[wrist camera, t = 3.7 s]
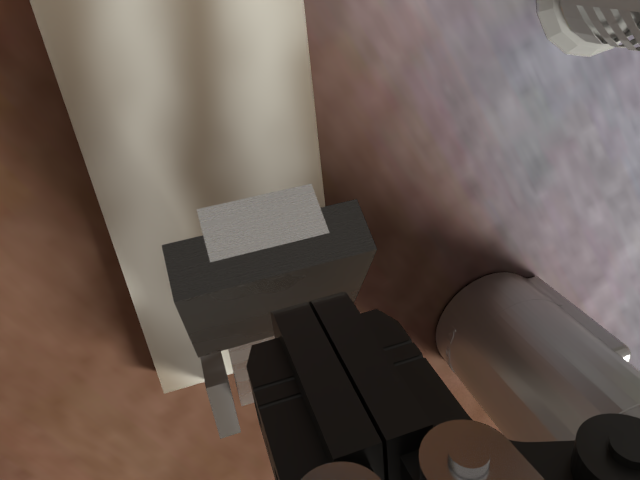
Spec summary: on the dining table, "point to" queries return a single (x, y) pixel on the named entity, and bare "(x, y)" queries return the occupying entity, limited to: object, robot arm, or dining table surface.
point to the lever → (263, 268)
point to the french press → (590, 24)
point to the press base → (182, 136)
